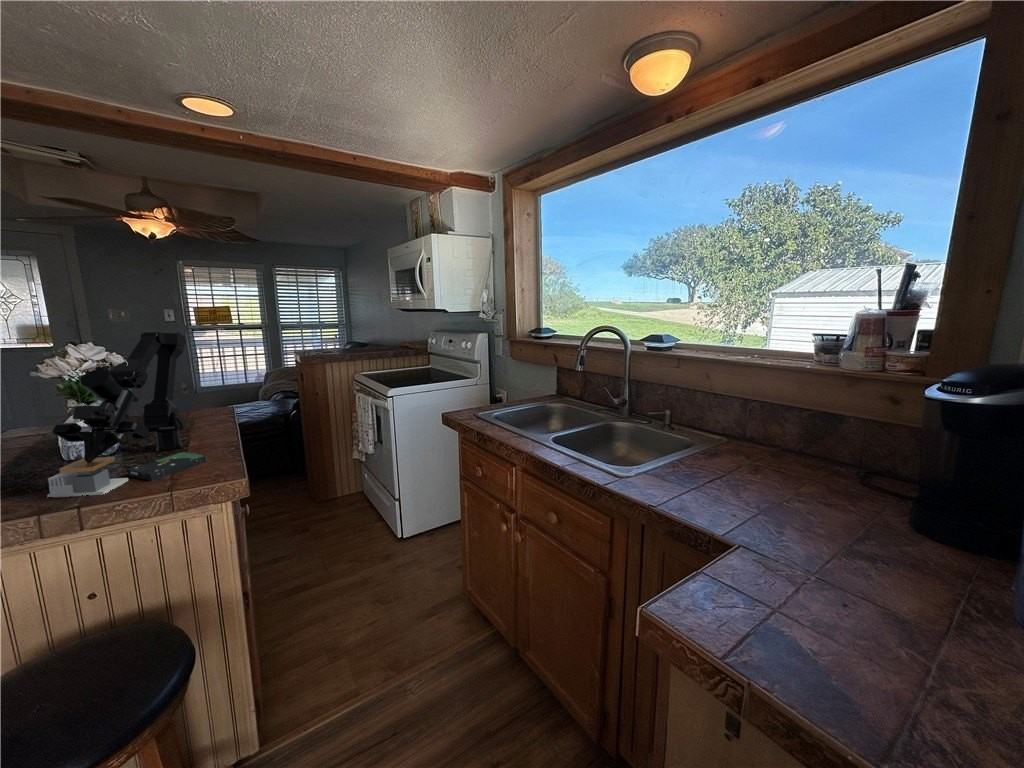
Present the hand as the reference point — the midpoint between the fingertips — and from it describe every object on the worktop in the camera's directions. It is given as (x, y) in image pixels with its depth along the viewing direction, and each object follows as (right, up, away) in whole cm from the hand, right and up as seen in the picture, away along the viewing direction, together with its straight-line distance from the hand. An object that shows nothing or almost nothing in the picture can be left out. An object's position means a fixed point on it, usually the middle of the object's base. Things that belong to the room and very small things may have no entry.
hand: (87, 461), depth 104 cm
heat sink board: (-2, -8, +3) cm, 8 cm away
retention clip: (0, -6, +1) cm, 6 cm away
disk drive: (+7, -6, +16) cm, 19 cm away
